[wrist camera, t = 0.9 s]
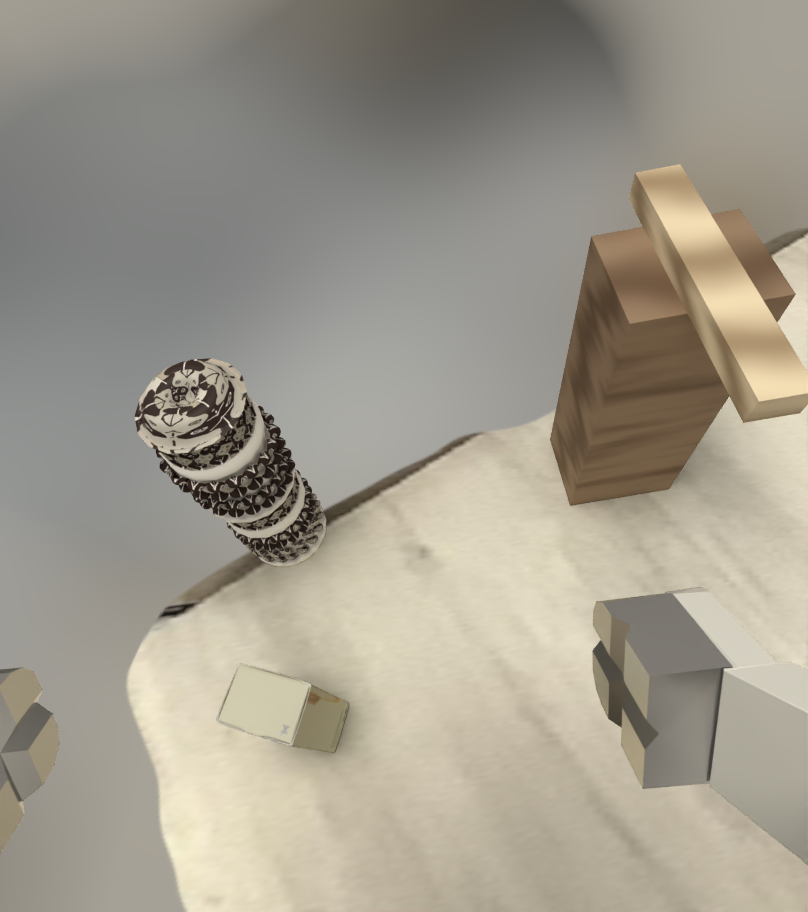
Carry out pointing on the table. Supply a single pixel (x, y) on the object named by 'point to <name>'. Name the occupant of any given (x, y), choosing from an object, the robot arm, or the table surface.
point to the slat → (719, 298)
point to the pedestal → (642, 366)
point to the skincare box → (282, 709)
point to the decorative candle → (231, 459)
